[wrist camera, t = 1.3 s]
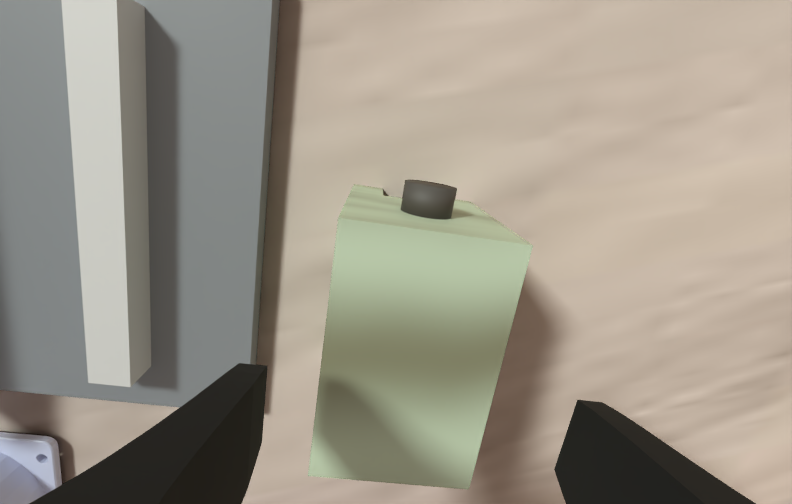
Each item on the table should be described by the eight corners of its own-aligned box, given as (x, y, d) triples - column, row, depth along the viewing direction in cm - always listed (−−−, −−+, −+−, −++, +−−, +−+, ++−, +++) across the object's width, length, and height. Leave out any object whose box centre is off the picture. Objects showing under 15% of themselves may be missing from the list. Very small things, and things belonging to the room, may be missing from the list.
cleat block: (436, 364, 19) (468, 489, 12) (333, 352, 18) (307, 476, 12) (474, 180, 16) (542, 211, 10) (356, 162, 16) (342, 181, 9)
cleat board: (253, 400, 19) (211, 489, 14) (-62, 368, 18) (-224, 454, 13) (281, -25, 14) (231, -109, 9) (-152, -110, 13) (-469, -257, 8)
